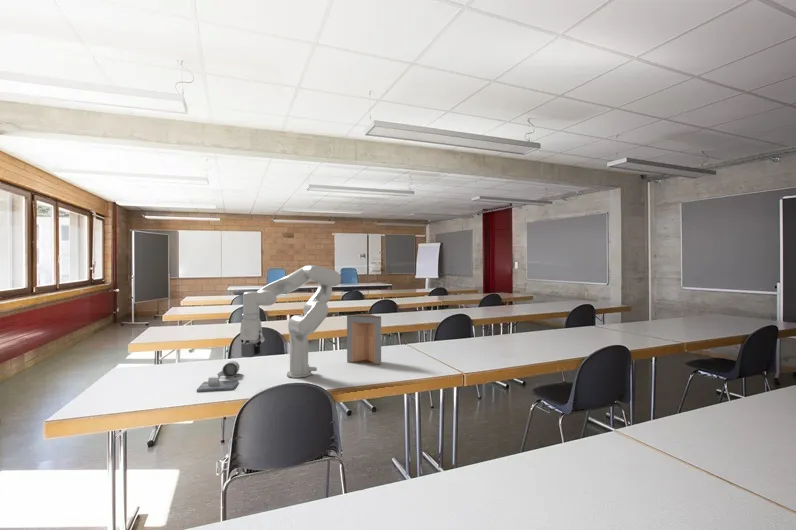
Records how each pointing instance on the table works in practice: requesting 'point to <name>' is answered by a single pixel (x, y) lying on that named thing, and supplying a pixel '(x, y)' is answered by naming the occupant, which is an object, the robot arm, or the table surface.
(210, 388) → the plate
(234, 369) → the ceramic mug
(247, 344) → the dark grey block
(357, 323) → the cabinet
